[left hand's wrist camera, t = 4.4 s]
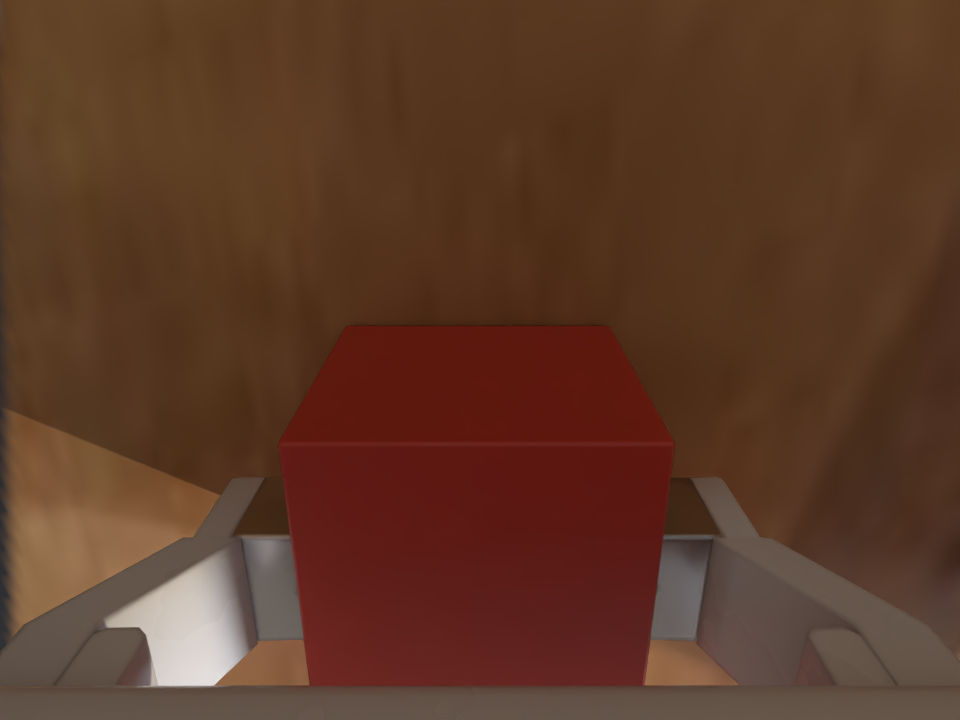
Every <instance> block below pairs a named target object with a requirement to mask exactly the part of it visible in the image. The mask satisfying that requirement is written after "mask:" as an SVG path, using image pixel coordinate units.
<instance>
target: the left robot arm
mask: <svg viewBox="0 0 960 720" xmlns="http://www.w3.org/2000/svg"><path fill="white" fill-rule="evenodd" d="M302 639H304V638H303V630H302V623H301V615H300V607H299V600H298V592H297V585H296V577H295V569H294V562H293V554H292V547H291V539H290V532H289V524H288V516H287V509H286V501H285V494H284V486H283V478H280V477H268V478H266V477H237V478H234V479H232V480H231V481H230V482H229V484H228V485H227V487H226V488H225V490H224V491H223V493H222V494H221V496H220V497H219V499H218V500H217V502H216V503H215V505H214V506H213V508H212V510H211V511H210V513H209V514H208V516H207V517H206V519H205V520H204V522H203V523H202V525H201V526H200V528H199V529H198V531H197V532H196V534H195V535H194V537H193V538H182V539H180V540H178V541H176V542H174V543H173V544H171V545H169V546H167V547H165V548H163V549H162V550H160V551H158V552H156V553H154V554H152V555H151V556H149V557H147V558H145V559H143V560H141V561H140V562H138V563H136V564H134V565H132V566H130V567H129V568H127V569H125V570H123V571H121V572H119V573H118V574H116V575H114V576H112V577H110V578H109V579H107V580H105V581H103V582H101V583H99V584H98V585H96V586H94V587H92V588H90V589H88V590H87V591H85V592H83V593H81V594H79V595H77V596H76V597H74V598H72V599H70V600H68V601H66V602H65V603H63V604H61V605H59V606H57V607H55V608H54V609H52V610H50V611H48V612H46V613H44V614H43V615H41V616H39V617H37V618H35V619H33V620H32V621H30V622H28V623H26V624H24V625H23V626H22V628H21V629H20V630H19V631H18V632H17V633H16V634H15V636H14V637H13V638H12V639H11V640H10V641H9V642H8V644H7V645H6V646H5V647H4V648H3V649H2V651H1V652H0V720H960V661H959V660H958V659H957V657H956V656H955V655H954V654H953V653H952V652H951V650H950V649H949V648H948V647H947V646H946V644H945V643H944V642H943V641H942V640H941V639H940V637H939V636H938V635H937V634H936V633H935V632H934V630H933V629H932V628H931V627H930V626H929V625H927V624H926V623H924V622H922V621H920V620H918V619H917V618H915V617H913V616H911V615H909V614H908V613H906V612H904V611H902V610H900V609H899V608H897V607H895V606H893V605H891V604H889V603H888V602H886V601H884V600H882V599H880V598H879V597H877V596H875V595H873V594H871V593H870V592H868V591H866V590H864V589H862V588H861V587H859V586H857V585H855V584H853V583H852V582H850V581H848V580H846V579H844V578H842V577H841V576H839V575H837V574H835V573H833V572H832V571H830V570H828V569H826V568H824V567H823V566H821V565H819V564H817V563H815V562H814V561H812V560H810V559H808V558H806V557H804V556H803V555H801V554H799V553H797V552H795V551H794V550H792V549H790V548H788V547H786V546H785V545H783V544H781V543H779V542H777V541H776V540H774V539H772V538H761V537H760V536H759V534H758V533H757V531H756V530H755V528H754V527H753V525H752V524H751V522H750V520H749V519H748V517H747V516H746V514H745V513H744V511H743V510H742V508H741V507H740V505H739V504H738V502H737V500H736V499H735V497H734V496H733V494H732V493H731V491H730V490H729V488H728V487H727V485H726V484H725V482H724V481H723V479H721V478H719V477H694V478H671V481H670V489H669V497H668V505H667V513H666V520H665V528H664V536H663V544H662V552H661V560H660V568H659V575H658V583H657V591H656V599H655V607H654V615H653V622H652V630H651V638H650V639H651V640H687V641H697V642H696V643H697V644H698V645H699V646H700V647H701V648H702V649H703V650H704V651H705V652H706V653H707V654H708V655H709V656H710V657H711V658H712V659H713V660H714V661H715V662H716V663H717V664H718V665H719V666H720V667H721V668H723V669H724V670H725V671H726V672H727V673H728V674H729V675H730V676H731V677H732V678H733V679H734V680H735V681H736V682H737V683H738V684H739V685H740V686H214V685H215V684H216V683H217V682H218V681H219V680H220V679H221V678H222V677H223V676H224V675H225V674H226V673H227V672H229V671H230V670H231V669H232V668H233V667H234V666H235V665H236V664H237V663H238V662H239V661H240V660H241V659H242V658H243V657H244V656H245V655H246V654H248V653H249V652H250V651H251V650H252V649H253V648H254V647H255V646H256V645H257V644H258V643H257V641H267V640H302Z"/></svg>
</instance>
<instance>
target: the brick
mask: <svg viewBox="0 0 960 720" xmlns="http://www.w3.org/2000/svg"><path fill="white" fill-rule="evenodd" d="M278 448H279V456H280V463H281V471H282V478H283V486H284V494H285V501H286V509H287V516H288V524H289V532H290V539H291V547H292V554H293V562H294V569H295V577H296V585H297V592H298V600H299V607H300V615H301V623H302V630H303V638H304V645H305V653H306V660H307V668H308V676H309V683H310V686H644V685H645V677H646V669H647V662H648V654H649V646H650V638H651V630H652V622H653V615H654V607H655V599H656V591H657V583H658V575H659V568H660V560H661V552H662V544H663V536H664V528H665V520H666V513H667V505H668V497H669V489H670V481H671V473H672V466H673V458H674V450H675V443H674V441H673V439H672V437H671V435H670V434H669V432H668V430H667V428H666V426H665V425H664V423H663V421H662V419H661V418H660V416H659V414H658V412H657V410H656V409H655V407H654V405H653V403H652V402H651V400H650V398H649V396H648V394H647V393H646V391H645V389H644V387H643V386H642V384H641V382H640V380H639V378H638V377H637V375H636V373H635V371H634V370H633V368H632V366H631V364H630V362H629V361H628V359H627V357H626V355H625V354H624V352H623V350H622V348H621V346H620V345H619V343H618V341H617V339H616V338H615V336H614V334H613V332H612V330H611V329H610V327H608V326H347V327H345V329H344V331H343V332H342V334H341V336H340V338H339V339H338V341H337V343H336V344H335V346H334V348H333V350H332V351H331V353H330V355H329V357H328V358H327V360H326V362H325V363H324V365H323V367H322V369H321V370H320V372H319V374H318V376H317V377H316V379H315V381H314V382H313V384H312V386H311V388H310V389H309V391H308V393H307V395H306V396H305V398H304V400H303V401H302V403H301V405H300V407H299V408H298V410H297V412H296V414H295V415H294V417H293V419H292V420H291V422H290V424H289V426H288V427H287V429H286V431H285V433H284V434H283V436H282V438H281V439H280V441H279V444H278Z"/></svg>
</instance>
